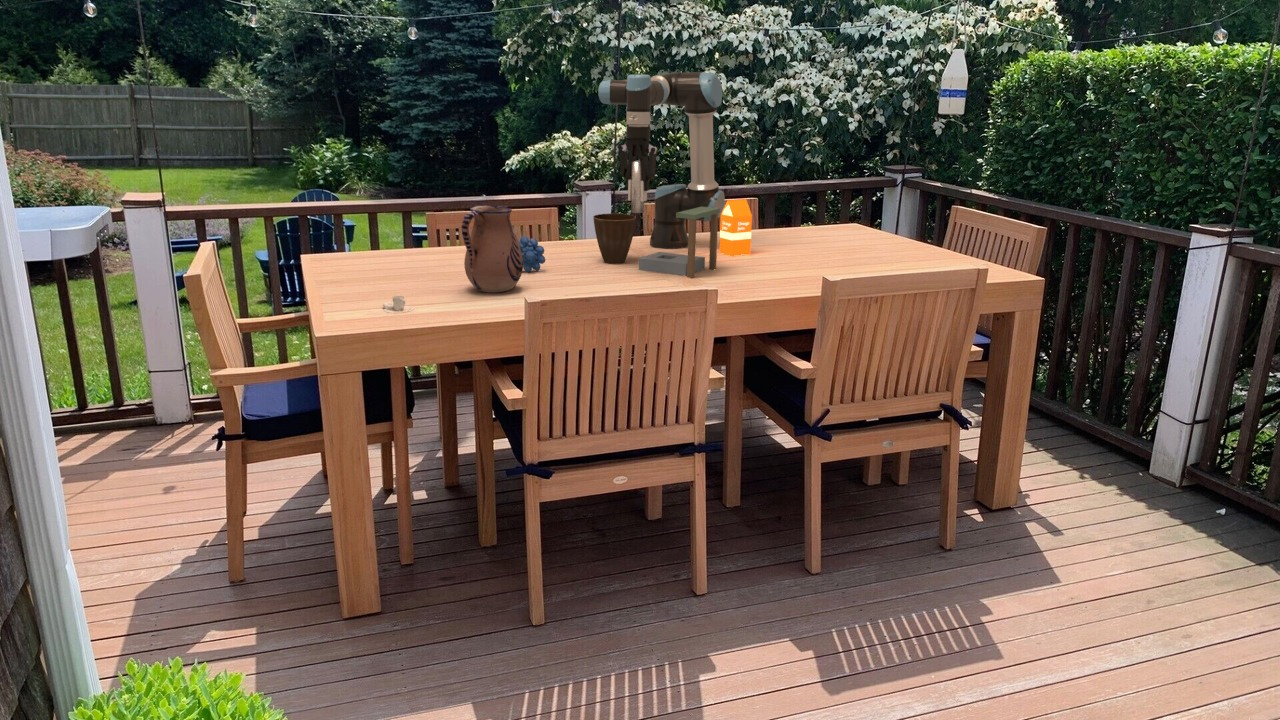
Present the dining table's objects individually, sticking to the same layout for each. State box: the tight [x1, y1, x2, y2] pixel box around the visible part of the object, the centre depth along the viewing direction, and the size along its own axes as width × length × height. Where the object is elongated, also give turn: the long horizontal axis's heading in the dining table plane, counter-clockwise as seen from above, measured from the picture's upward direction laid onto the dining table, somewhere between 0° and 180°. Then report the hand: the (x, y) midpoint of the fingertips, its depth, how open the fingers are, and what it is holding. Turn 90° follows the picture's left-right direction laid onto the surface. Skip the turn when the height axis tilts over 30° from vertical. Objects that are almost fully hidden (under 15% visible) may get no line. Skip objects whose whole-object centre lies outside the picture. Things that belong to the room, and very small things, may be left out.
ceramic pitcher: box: [461, 204, 524, 294], centre depth 276 cm, size 18×21×25 cm
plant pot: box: [592, 213, 637, 265], centre depth 323 cm, size 15×15×16 cm
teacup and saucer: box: [382, 295, 414, 314], centre depth 257 cm, size 9×8×4 cm
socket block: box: [638, 251, 706, 277], centre depth 313 cm, size 18×14×4 cm
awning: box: [676, 207, 720, 279], centre depth 306 cm, size 7×18×21 cm, turn 149°
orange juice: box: [718, 198, 753, 257], centre depth 340 cm, size 8×9×20 cm
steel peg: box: [630, 160, 645, 214], centre depth 296 cm, size 4×4×16 cm
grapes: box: [518, 235, 547, 273], centre depth 305 cm, size 12×7×12 cm, turn 110°
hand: (637, 200), depth 297 cm, fingers closed on steel peg, 4 cm apart
